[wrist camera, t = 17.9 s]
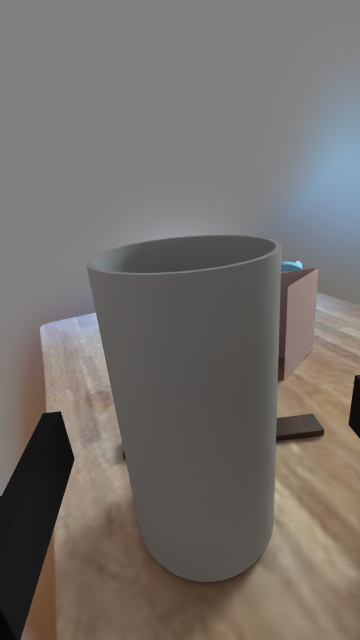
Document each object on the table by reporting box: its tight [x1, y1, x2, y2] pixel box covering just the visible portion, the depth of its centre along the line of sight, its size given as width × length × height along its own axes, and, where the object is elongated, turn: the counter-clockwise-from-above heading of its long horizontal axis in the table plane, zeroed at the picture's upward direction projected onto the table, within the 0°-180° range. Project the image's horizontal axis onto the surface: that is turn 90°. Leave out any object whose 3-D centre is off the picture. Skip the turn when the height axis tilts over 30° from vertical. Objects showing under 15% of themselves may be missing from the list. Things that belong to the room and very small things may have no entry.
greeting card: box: [278, 268, 318, 379], centre depth 51 cm, size 11×7×15 cm, turn 104°
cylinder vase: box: [86, 235, 282, 582], centre depth 26 cm, size 12×12×25 cm
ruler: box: [123, 414, 324, 459], centre depth 39 cm, size 24×3×1 cm, turn 94°
